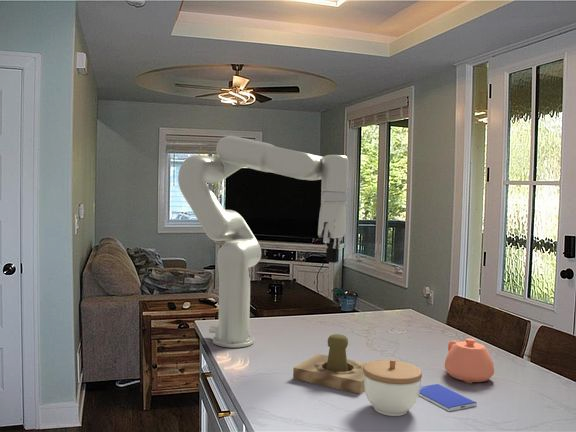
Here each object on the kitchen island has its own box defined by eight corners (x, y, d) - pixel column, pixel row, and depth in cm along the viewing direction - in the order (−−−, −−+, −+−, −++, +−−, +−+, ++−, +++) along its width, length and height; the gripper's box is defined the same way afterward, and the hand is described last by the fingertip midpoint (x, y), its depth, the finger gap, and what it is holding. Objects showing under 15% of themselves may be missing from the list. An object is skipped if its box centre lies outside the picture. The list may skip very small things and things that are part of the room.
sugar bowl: (469, 389, 135) (470, 348, 135) (429, 371, 148) (431, 334, 147) (504, 382, 141) (506, 342, 140) (463, 366, 153) (465, 329, 153)
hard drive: (412, 387, 132) (449, 407, 121) (439, 383, 136) (476, 401, 124) (412, 394, 132) (448, 414, 121) (438, 389, 136) (476, 408, 125)
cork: (351, 375, 142) (352, 333, 142) (345, 383, 137) (346, 339, 136) (328, 372, 144) (329, 330, 144) (321, 379, 139) (323, 336, 138)
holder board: (293, 379, 138) (293, 367, 138) (317, 364, 150) (317, 353, 150) (360, 393, 130) (360, 381, 129) (380, 377, 142) (380, 365, 142)
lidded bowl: (408, 426, 112) (410, 373, 112) (352, 412, 119) (354, 361, 118) (427, 407, 123) (430, 358, 122) (375, 394, 130) (377, 348, 129)
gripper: (332, 198, 166) (330, 258, 167) (310, 198, 153) (308, 263, 154) (356, 198, 162) (354, 260, 163) (335, 198, 149) (333, 266, 150)
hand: (332, 262), depth 158 cm, fingers closed
